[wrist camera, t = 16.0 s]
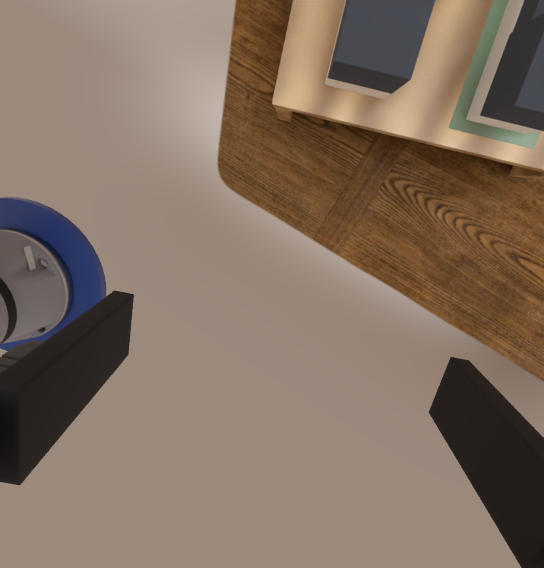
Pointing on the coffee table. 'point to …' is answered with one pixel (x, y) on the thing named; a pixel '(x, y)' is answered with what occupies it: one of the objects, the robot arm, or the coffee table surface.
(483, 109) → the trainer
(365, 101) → the low wooden bench
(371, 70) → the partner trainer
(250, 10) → the coffee table surface
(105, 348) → the robot arm
